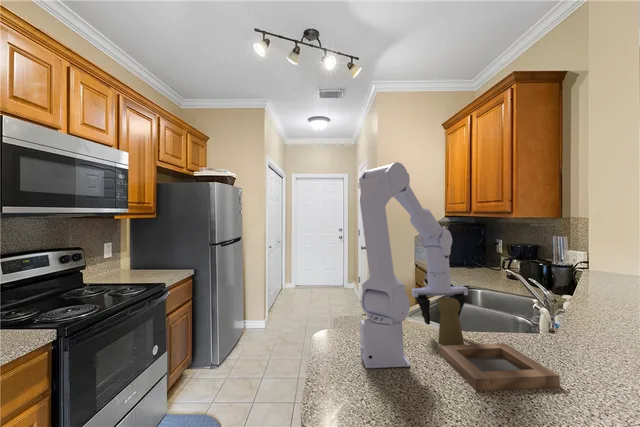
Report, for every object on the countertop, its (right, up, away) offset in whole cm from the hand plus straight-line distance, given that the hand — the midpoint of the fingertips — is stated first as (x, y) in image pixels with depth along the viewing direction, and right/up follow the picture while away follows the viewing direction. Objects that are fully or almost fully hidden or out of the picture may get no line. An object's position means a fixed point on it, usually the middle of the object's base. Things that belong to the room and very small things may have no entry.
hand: (441, 322), depth 78 cm
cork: (0, -3, -5) cm, 6 cm away
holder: (+2, -2, -19) cm, 20 cm away
